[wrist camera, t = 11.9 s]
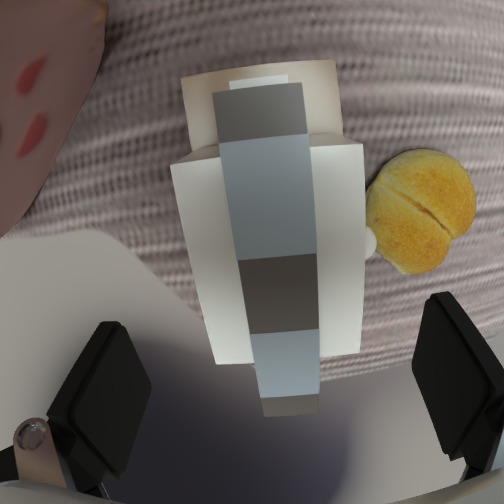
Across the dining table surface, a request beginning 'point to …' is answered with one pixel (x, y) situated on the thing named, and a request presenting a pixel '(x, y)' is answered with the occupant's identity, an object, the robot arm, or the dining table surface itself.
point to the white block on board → (325, 199)
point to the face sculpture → (42, 89)
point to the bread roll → (419, 208)
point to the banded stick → (274, 237)
